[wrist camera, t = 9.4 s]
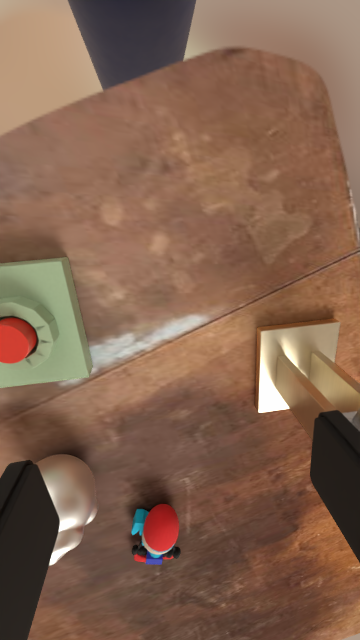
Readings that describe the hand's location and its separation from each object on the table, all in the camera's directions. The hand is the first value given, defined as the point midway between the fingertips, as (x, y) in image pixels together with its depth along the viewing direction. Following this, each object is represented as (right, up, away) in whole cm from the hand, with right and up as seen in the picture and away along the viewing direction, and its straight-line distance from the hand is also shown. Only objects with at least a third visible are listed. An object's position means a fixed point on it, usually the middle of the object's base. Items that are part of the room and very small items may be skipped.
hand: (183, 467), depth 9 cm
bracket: (+13, 0, +24) cm, 27 cm away
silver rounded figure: (-15, -14, +26) cm, 33 cm away
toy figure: (-4, -26, +32) cm, 41 cm away
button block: (-15, +5, +19) cm, 24 cm away
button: (-15, +4, +15) cm, 22 cm away
